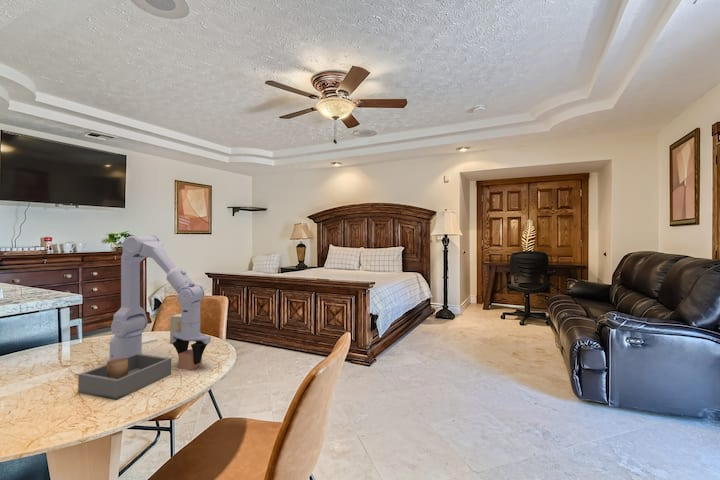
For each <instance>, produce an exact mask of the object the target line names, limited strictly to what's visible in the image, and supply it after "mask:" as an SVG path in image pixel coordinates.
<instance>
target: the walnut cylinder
mask: <svg viewBox="0 0 720 480" xmlns="http://www.w3.org/2000/svg"><path fill="white" fill-rule="evenodd" d="M106 364H107V377H108V378H113V379H119V378H122V377H124V376H127V375H128V359H127V358H117V359H113V360H110V361H108V362H107V361H106Z"/></svg>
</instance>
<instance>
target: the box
mask: <svg viewBox="0 0 720 480" xmlns="http://www.w3.org/2000/svg"><path fill="white" fill-rule="evenodd" d="M169 331H170V332H169V334H170V336H169V338H170V339H169V343H170V344H173V342H176V339H174V340H172V339H171V334H172V333H175V332H177V333H181V313H178V314H174V315H170V329H169Z"/></svg>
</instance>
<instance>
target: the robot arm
mask: <svg viewBox="0 0 720 480" xmlns="http://www.w3.org/2000/svg"><path fill="white" fill-rule="evenodd" d="M146 258H151V259H152V260H153V261H154V262H155V263H156V264H157V265H158V266H159V267H160V268H161V269H162V270H163V271H164V272H165V274H166V281H167V282H168V283H169V285H170V286H171V287H172V288H173V289H174V291H175V292H176V294H178V295H177V296H176V297H177V301H178V303H179V304H180V306H179V307H180V309H181V313H180V314H181V333H177V332H175V333H172V334H171V339H172V340H174V339H176V342H173V343H172V346H173V347H174V348H175V351H176V352H177V355H178V356H179V353H181V352H184V351H186V350H189V345H190V347H191V349H192V350H193V355H194V364H195V365H196V364H198V363H200V361H201V358H202V359H203V354H204V351H205V349H206V347H207V346H208V344H210V343H212V337H211V336H209V335H206V334H203V333H202V332H201V301H202V300H203V299H204V297H205V290H204V289H203V286H201V285H199V284H197V283H195V282H194V281H192V279H191V278H190V277H189V275H187V271H186V270H184V269H182V268H178V267H176V265H175V264H174V262H173V260H172V259H171V258H170V256H169V255H168V253H167V252H166V250H165V248H164V243H163V242H162V241H161V240H160V238H159V237H158V236H156V235H135V234H134V235H129V236H128V237H126V238H125V239H124V240H123V241H122V253H121V256H120V264H121V265H120V308H119V309H118V310H117V311H116V312H115V313H114V314H113V319H112V323H111V326H110V329H111V333H112V334H113V336H112V337H111V339H110V341H109V359H108V360H106V363H107V362H108V361H110V360H113V359H117V358H126V357H128V356H131V355H134V354H143V353H142V352H143V351H142V350H143V345H142V337H143V333H144V331H145V329H146V328H147V326H148V317H147V315H146V310H145V309H144V308H143V307H141V262H142V261H144V259H146ZM190 342H193V343H192V344H190Z"/></svg>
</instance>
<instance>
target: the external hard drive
mask: <svg viewBox="0 0 720 480" xmlns="http://www.w3.org/2000/svg"><path fill="white" fill-rule="evenodd" d="M156 342H158V338H156V337H154V336H151V335H144V336H143V335H142V346H143V345H147V344H151V343H156Z"/></svg>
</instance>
